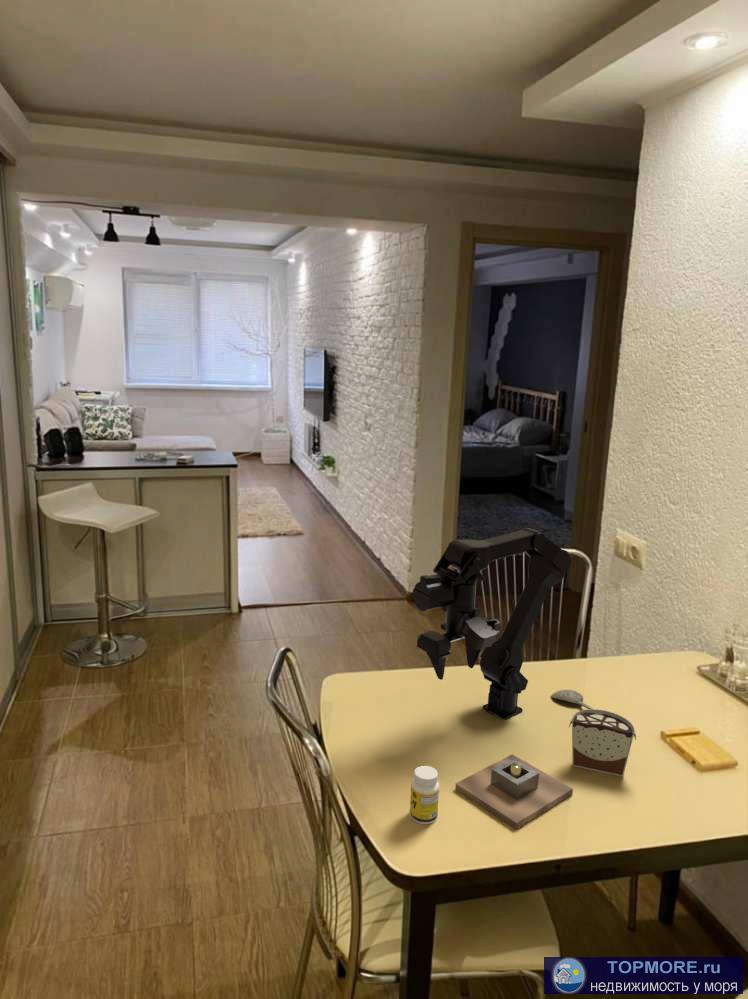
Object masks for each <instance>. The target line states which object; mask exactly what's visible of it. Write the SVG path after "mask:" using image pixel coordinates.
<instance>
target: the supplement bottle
mask: <svg viewBox="0 0 748 999" xmlns="http://www.w3.org/2000/svg"><path fill="white" fill-rule="evenodd" d="M438 777H439V773H438V770H436V768H434V767H432V766H429V765H421V766H418V767H416V768H415V769H414V773H413V779H412V781H411V784H410V785H411V786H410V787H411V788H410V802H409V803H410V804H409V805H410V806H409V816H410V818H411V819H412V820H413V822H415V823H417V824H420V825H429V824H430V825H431V824H433V823H434V822H436V821H437V819H438V814H439V813H438V812H439V797H440V796H439V795H440V783H439V780H438Z"/></svg>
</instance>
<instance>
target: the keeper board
mask: <svg viewBox="0 0 748 999" xmlns="http://www.w3.org/2000/svg"><path fill="white" fill-rule="evenodd" d="M512 758H514V759H516V760H518V761H519V762H521V763H523V764H524V765H526V766H528V767H530V768H531V769H533V770H535V771H537V772H538V773H539V781H538V788H537V789H535V790H533V791H532V792H530V793H528V794H526V795H525V796H523V797H521V798H519V799H518V800H516V799H514V798H512V797H511V796H509V795H508V794H506V793H504V792H503V791H501V790H500V789H498V788H496V787H495V786H493V785H492V784H491V773H492V769H493V768H495V767H497V766H499V765H500V764H502V763H504V762H506V761H508V760H510V759H512ZM455 790H456V791H458V792H459V793H460V794H461V795H463V796H464V797H467V798H468V799H470V800H471V801H472V802H474V803H475V804H477V805H478V806H480V807H481V808H483V809H484V810H486V811H488V812H489V813H491V814H492V815H493V816H495V817H497V818H498V819H500V820H501V821H503V822H504V823H506V824H507V825H508V826H510V827H512V828H513V829H514V830H518V829H520V828H522V827H523V826H524V825H526V824H528V823H529V822H531V821H532V820H534V819H535V818H537V817H539V816H540V815H542V814H544V813H545V812H547V811H548V810H550V809H551V808H553V807H554V806H556V805H558V804H560V803H561V802H563V801H564V800H565V799H568V798H570V797H571V796H572V795H573V792H574V788H573V787H571V786H569V785H567V784H566V783H564V782H562V781H560V780H559V779H557V778H555V777H553V776H551V775H550V774H548V773H547V772H545V771H543V770H541V769H539V768H537V767H535V765H532V764H531V763H528V762H527V761H525V760H524V759H521V758H520V757H518V756H516V755H515V754H513V753H511V754H509V755H507V756H506V757H504V758H502V759H500V760H498V761H496V762H495V763H492V764H490V765H489V766H486V767H484V768H483V769H481V770H479V771H477V772H475V773H473V774H471V775H469V776H467V777H465V778H463V779H461V780H460V781H457V782H456V783H455ZM530 820H531V821H530ZM527 822H528V823H527ZM525 823H526V824H525ZM522 825H523V826H522ZM519 827H520V828H519Z"/></svg>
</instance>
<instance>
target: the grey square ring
mask: <svg viewBox="0 0 748 999" xmlns="http://www.w3.org/2000/svg"><path fill="white" fill-rule="evenodd" d="M513 763H517V764H519V765H521V775H520V778H518V779H516V778H514V777H512V776H511V775H510V772H511V764H513ZM538 781H539V773H538V772H537V771H535V770H533V769H531V768H530V767H528V766H526V765H524V764H523V763H521V762H519V761H518V760H516V759H514V758H512V759H510V760H508V761H506V762H504V763H502V764H500V765H499V766H497V767H495V768H493V769H492V773H491V784H492V785H493V786H495V787H496V788H498V789H500V790H501V791H503V792H504V793H506V794H508V795H509V796H511V797H512V798H514V799H516V800H518V799H519V798H521V797H523V796H525V795H526V794H528V793H530V792H532V791H533V790H535V789H537V788H538Z"/></svg>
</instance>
